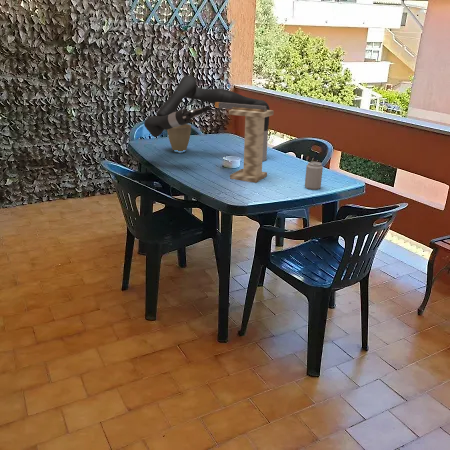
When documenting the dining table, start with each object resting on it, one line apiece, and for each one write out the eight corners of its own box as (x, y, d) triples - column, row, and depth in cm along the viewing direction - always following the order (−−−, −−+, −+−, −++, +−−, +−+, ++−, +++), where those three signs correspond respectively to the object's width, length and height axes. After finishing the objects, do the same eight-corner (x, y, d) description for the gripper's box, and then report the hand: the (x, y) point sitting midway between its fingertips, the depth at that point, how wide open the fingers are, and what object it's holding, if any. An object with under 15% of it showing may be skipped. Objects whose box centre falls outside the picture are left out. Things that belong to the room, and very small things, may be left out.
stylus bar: (215, 107, 223) (215, 102, 222) (217, 107, 225) (217, 101, 224) (264, 111, 212) (264, 106, 211) (266, 111, 214) (266, 105, 213)
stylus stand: (226, 178, 226) (228, 108, 214) (238, 171, 238) (240, 105, 225) (259, 183, 219) (263, 111, 206) (270, 176, 230) (274, 108, 218)
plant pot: (163, 150, 281) (162, 124, 276) (185, 148, 288) (185, 123, 282) (172, 155, 269) (171, 128, 263) (195, 153, 276) (195, 126, 270)
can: (308, 190, 210) (311, 165, 205) (301, 186, 216) (304, 161, 212) (323, 189, 212) (326, 164, 207) (316, 185, 218) (318, 160, 214)
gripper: (169, 113, 226) (197, 104, 218) (182, 108, 237) (209, 99, 230) (175, 128, 228) (202, 119, 220) (187, 122, 240) (214, 114, 232)
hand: (206, 109), depth 225 cm, fingers open, 8 cm apart
